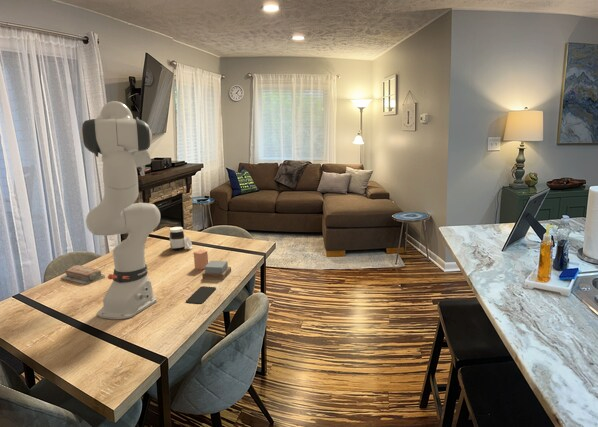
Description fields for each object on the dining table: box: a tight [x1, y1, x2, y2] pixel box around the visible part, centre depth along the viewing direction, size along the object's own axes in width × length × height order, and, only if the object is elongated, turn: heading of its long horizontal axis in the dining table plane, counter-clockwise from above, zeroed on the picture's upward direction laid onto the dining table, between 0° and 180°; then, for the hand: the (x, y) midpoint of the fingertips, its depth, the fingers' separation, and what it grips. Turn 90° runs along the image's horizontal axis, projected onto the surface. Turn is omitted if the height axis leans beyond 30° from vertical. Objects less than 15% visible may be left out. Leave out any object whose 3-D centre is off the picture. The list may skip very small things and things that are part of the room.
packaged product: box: [60, 264, 106, 285], centre depth 184 cm, size 18×5×10 cm
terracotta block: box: [193, 249, 209, 271], centre depth 193 cm, size 4×4×8 cm
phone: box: [185, 285, 217, 305], centre depth 164 cm, size 7×1×15 cm
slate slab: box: [204, 260, 229, 274], centre depth 184 cm, size 8×8×3 cm
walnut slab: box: [201, 266, 232, 281], centre depth 185 cm, size 10×10×3 cm
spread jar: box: [169, 226, 193, 252], centre depth 222 cm, size 12×11×12 cm
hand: (133, 178), depth 187 cm, fingers open, 8 cm apart
